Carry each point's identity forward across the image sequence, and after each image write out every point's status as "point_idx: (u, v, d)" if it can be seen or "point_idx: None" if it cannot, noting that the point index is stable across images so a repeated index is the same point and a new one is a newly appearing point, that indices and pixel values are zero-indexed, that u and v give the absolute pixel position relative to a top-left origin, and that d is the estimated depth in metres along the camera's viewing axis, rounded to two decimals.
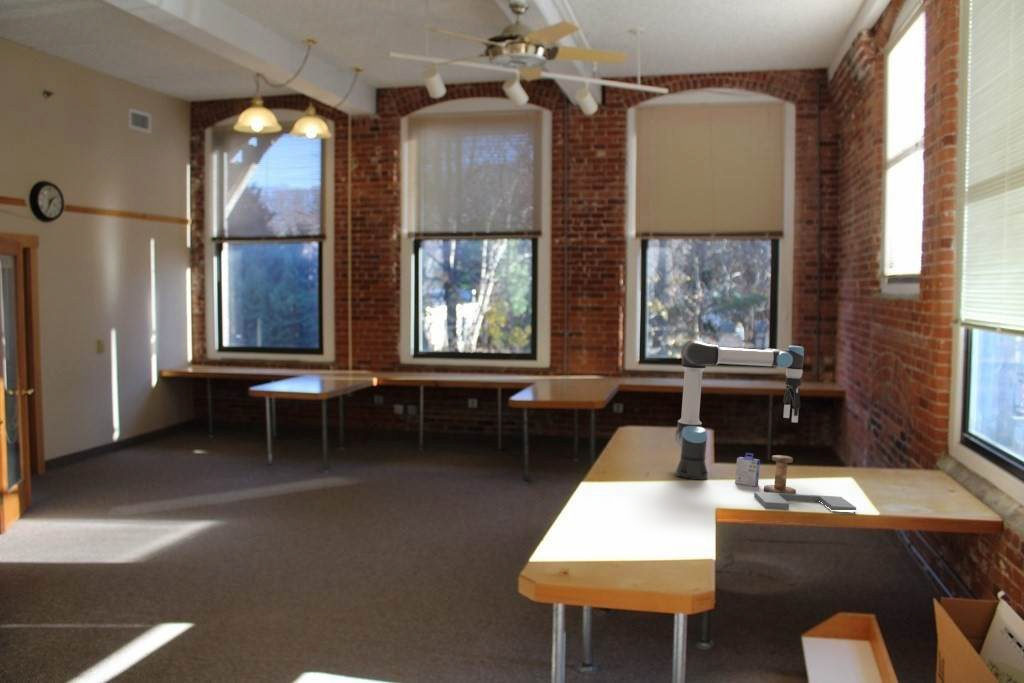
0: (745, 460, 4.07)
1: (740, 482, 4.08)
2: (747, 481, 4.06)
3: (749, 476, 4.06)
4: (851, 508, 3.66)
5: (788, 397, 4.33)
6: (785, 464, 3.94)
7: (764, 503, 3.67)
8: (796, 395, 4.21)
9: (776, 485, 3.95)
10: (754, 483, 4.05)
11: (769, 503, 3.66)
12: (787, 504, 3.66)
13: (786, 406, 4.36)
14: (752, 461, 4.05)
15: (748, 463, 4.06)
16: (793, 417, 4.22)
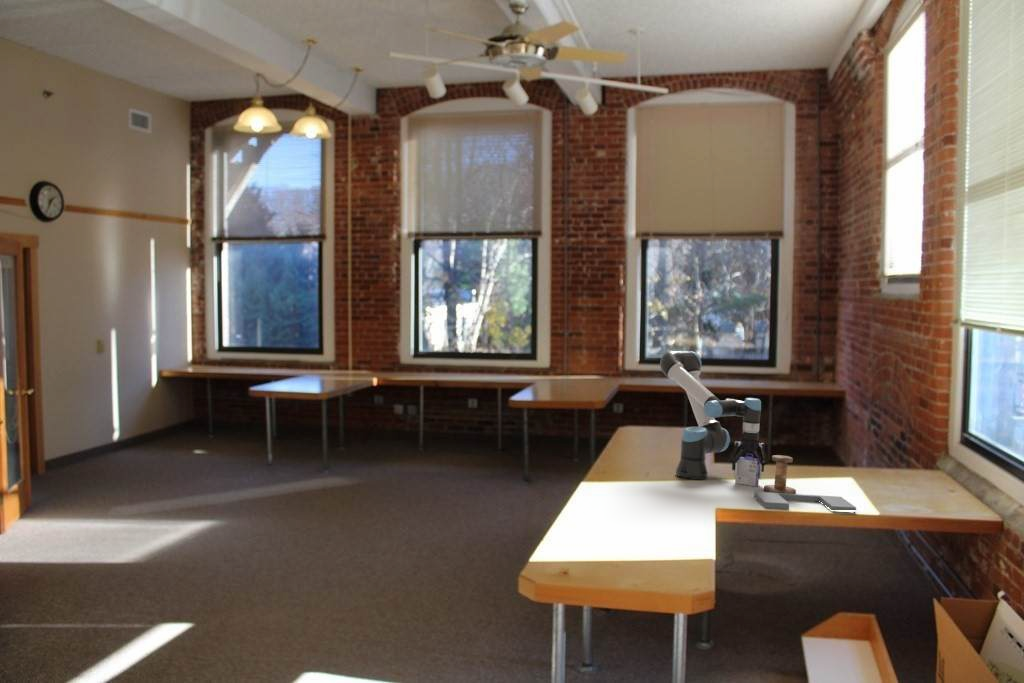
0: (745, 460, 4.07)
1: (740, 482, 4.08)
2: (748, 481, 4.06)
3: (749, 476, 4.06)
4: (851, 508, 3.66)
5: (756, 454, 4.08)
6: (785, 464, 3.94)
7: (764, 503, 3.67)
8: (733, 448, 4.08)
9: (776, 485, 3.95)
10: (754, 483, 4.05)
11: (769, 503, 3.66)
12: (787, 504, 3.66)
13: None
14: (752, 461, 4.05)
15: (748, 463, 4.06)
16: (734, 471, 4.09)
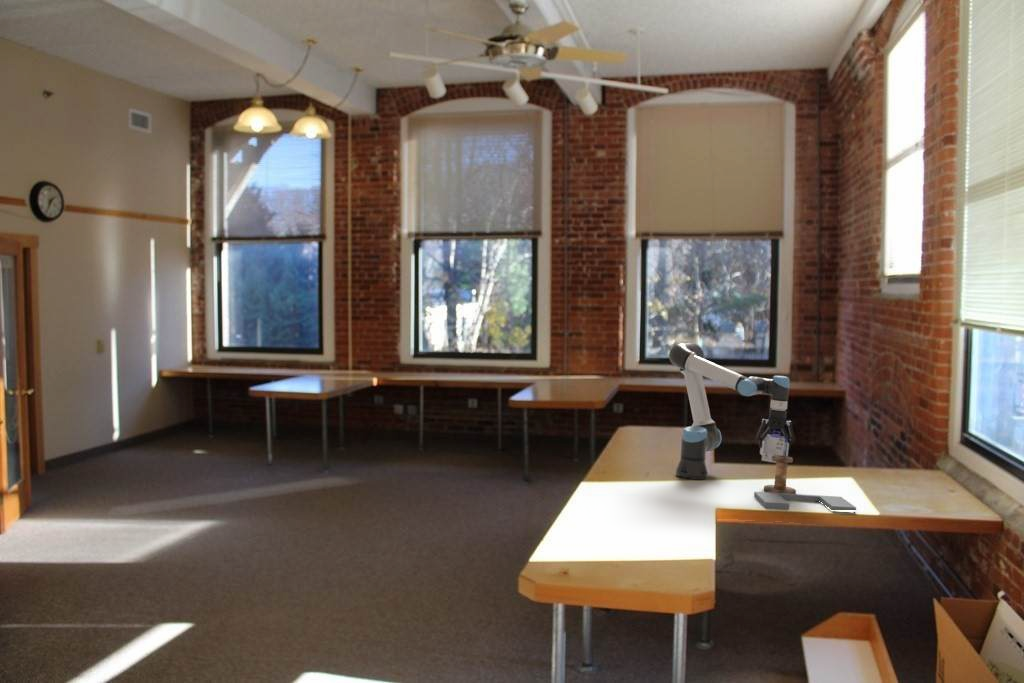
0: (772, 437, 4.06)
1: (767, 460, 4.07)
2: None
3: (776, 453, 4.05)
4: (851, 508, 3.66)
5: (783, 432, 4.08)
6: (785, 464, 3.94)
7: (764, 503, 3.67)
8: (761, 426, 4.07)
9: (776, 485, 3.95)
10: None
11: (769, 503, 3.66)
12: (787, 504, 3.66)
13: None
14: (780, 438, 4.04)
15: (775, 440, 4.05)
16: (760, 449, 4.09)
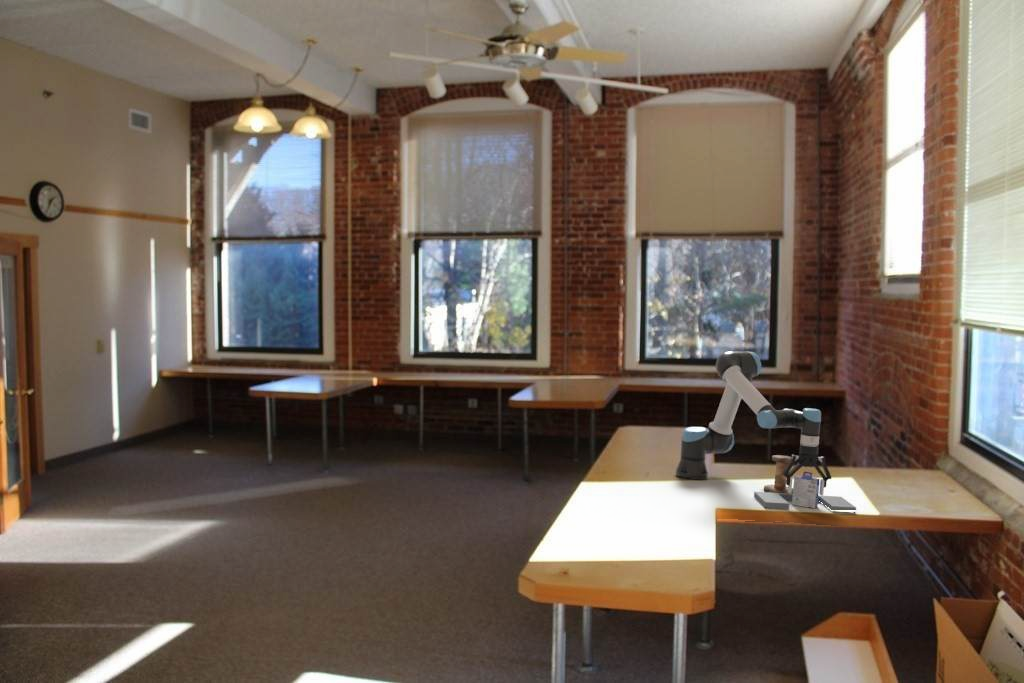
0: (803, 480, 3.71)
1: (798, 504, 3.73)
2: (806, 503, 3.71)
3: (808, 497, 3.70)
4: (851, 508, 3.66)
5: (816, 469, 3.73)
6: (785, 464, 3.94)
7: (764, 503, 3.67)
8: (789, 462, 3.73)
9: (776, 485, 3.95)
10: (814, 505, 3.69)
11: (769, 503, 3.66)
12: (787, 504, 3.66)
13: (821, 481, 3.73)
14: (811, 481, 3.70)
15: (807, 483, 3.71)
16: (788, 487, 3.74)
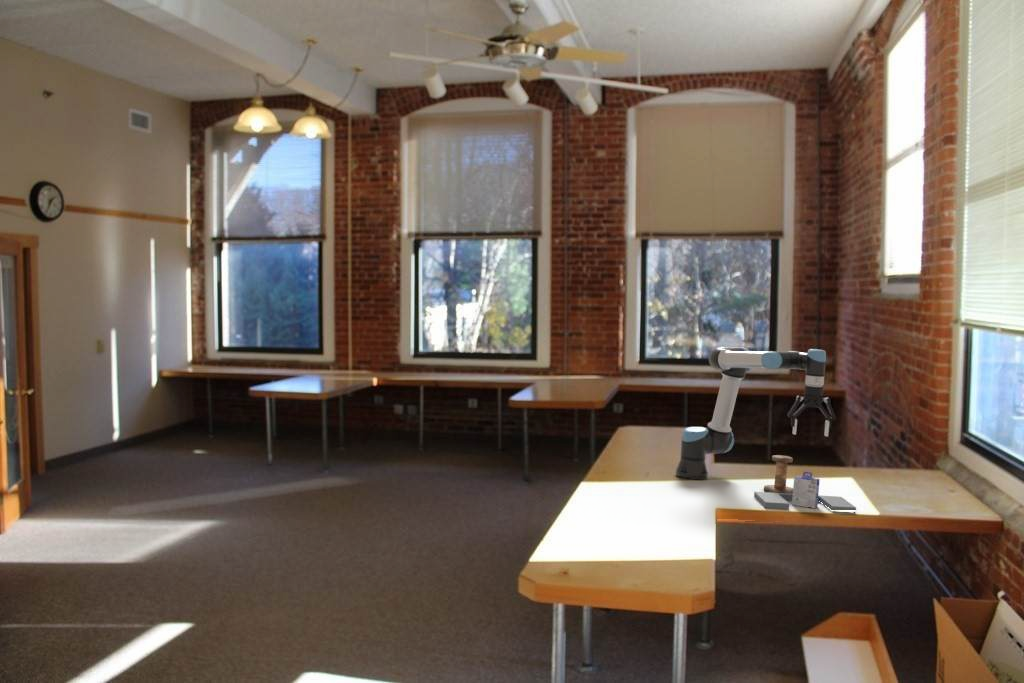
0: (803, 480, 3.71)
1: (798, 504, 3.73)
2: (806, 503, 3.71)
3: (808, 497, 3.70)
4: (851, 508, 3.66)
5: (821, 410, 3.71)
6: (785, 464, 3.94)
7: (764, 503, 3.67)
8: (794, 403, 3.71)
9: (776, 485, 3.95)
10: (814, 505, 3.69)
11: (769, 503, 3.66)
12: (787, 504, 3.66)
13: (826, 422, 3.72)
14: (811, 481, 3.70)
15: (807, 483, 3.71)
16: (793, 428, 3.72)
